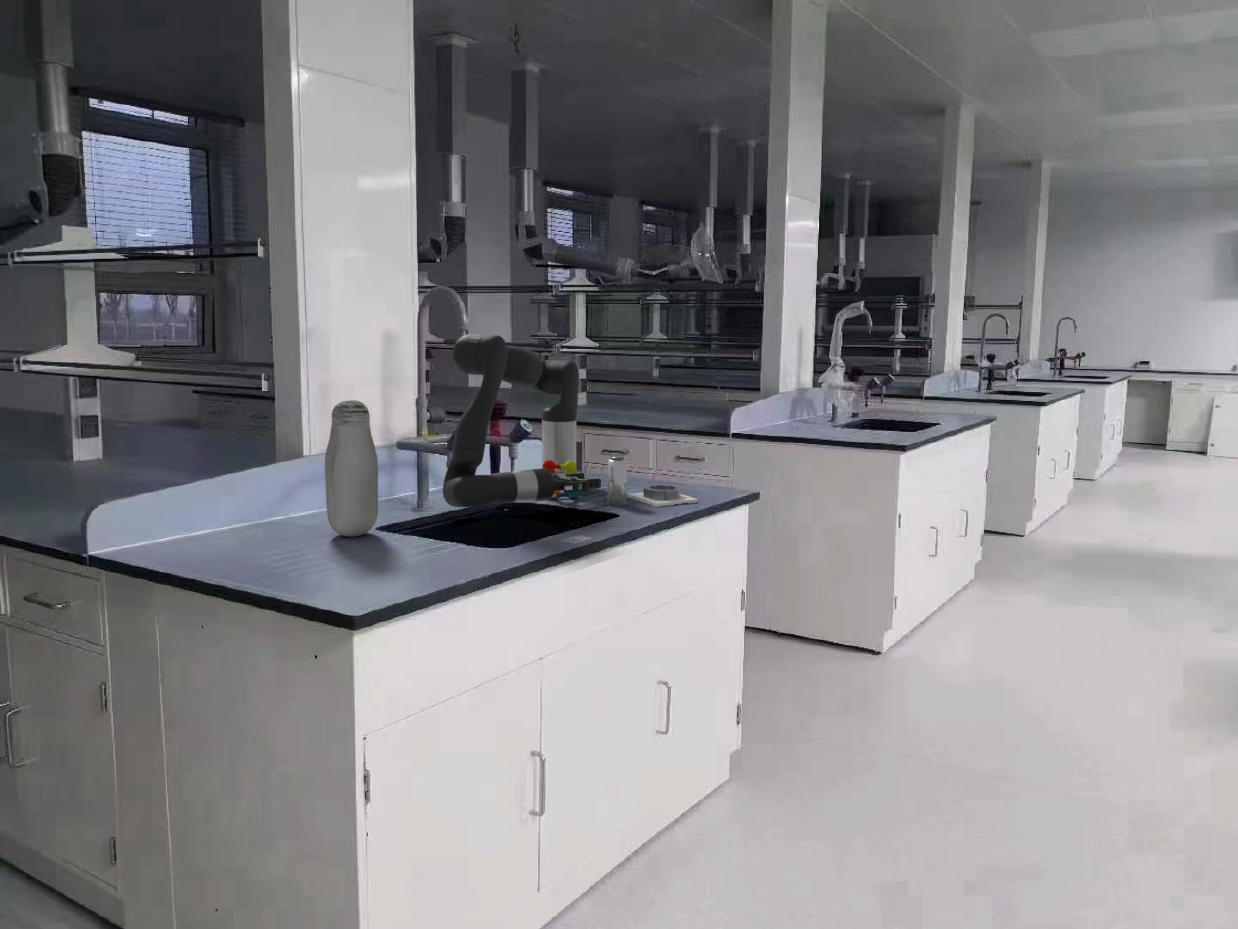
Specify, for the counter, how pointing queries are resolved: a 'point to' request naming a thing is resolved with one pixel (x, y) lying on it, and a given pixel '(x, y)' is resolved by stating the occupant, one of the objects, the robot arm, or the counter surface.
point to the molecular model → (569, 468)
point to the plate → (662, 502)
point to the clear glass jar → (617, 481)
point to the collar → (662, 492)
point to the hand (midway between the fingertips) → (591, 480)
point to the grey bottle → (351, 471)
